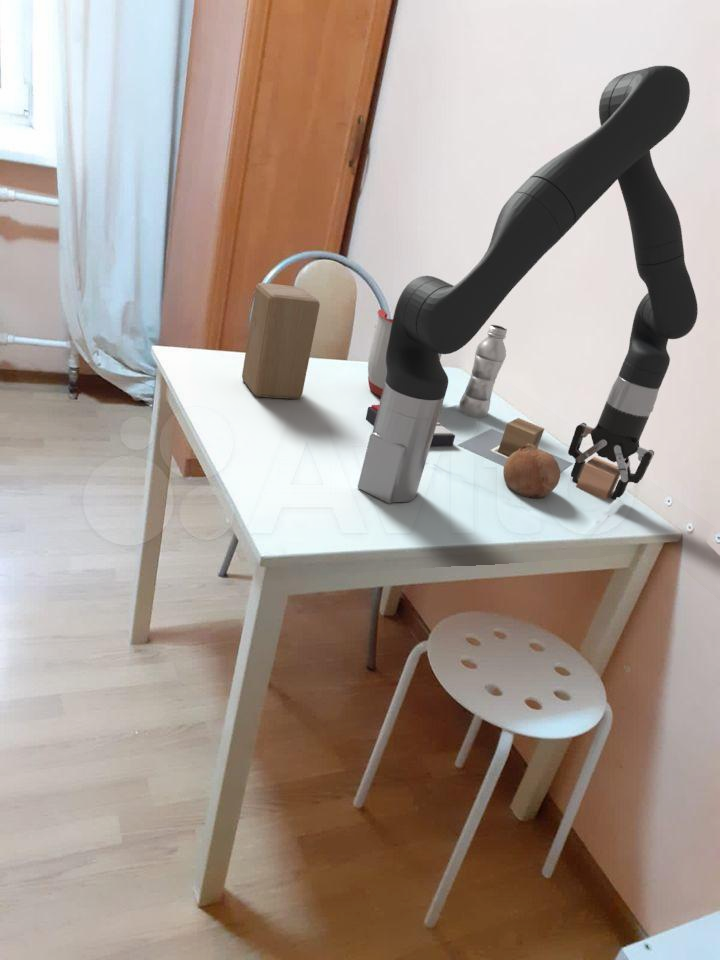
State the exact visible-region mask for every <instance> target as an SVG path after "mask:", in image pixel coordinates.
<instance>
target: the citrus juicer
mask: <svg viewBox="0 0 720 960" xmlns="http://www.w3.org/2000/svg"><path fill="white" fill-rule="evenodd" d="M387 317H388V312H386V311H385V310H384V309H383V308H380V309H378V310H377V319H376V323H375V326H374V331H373V335H372V340H371V344H370V347H369V353H368V354H369V355H368V358H367V359H368V360H367V361H368V362H367V374H368V375H367V381H368V386H369V390H370V391H371V392H372V393H374V394H375V395H376V396H379V397H380V398H381V396H382V392H383V388H384V384H385V380H386V376H387V366H386V352H387V347H388V342H389V337H390V331H391V326H392V321H393V318H387ZM441 358H442V354H439V359H440V360H441Z"/></svg>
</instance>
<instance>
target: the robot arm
mask: <svg viewBox="0 0 720 960" xmlns="http://www.w3.org/2000/svg"><path fill="white" fill-rule="evenodd" d="M690 94H691V89H690V81H689V79H688V77H687V76H686V74H685V73H684V72H683V71H682V70H680V68H677V67H675V66H671V65H653V66H649V67H646V68H645V67H644V68H642V69H637V70H633V71H629V72H626V73H623V74H620V75H617V76H616V77H613V79H612V80H611V81H609V82H608V84H607V85H606V86H605V87H604V89H603V91H602V93H601V95H600V98H599V105H598V117H599V123H600V127H598V128H597V129H596V130H595V131H594V132H592V133H591V134H590V135H588V136H586V137H585V138H583V139H582V140H580V141H579V142H577V143H575V144H574V145H573V146H571V147H569V148H567V149H566V150H565V151H562V153H559V154H558V155H557V156H554V157H553V158H552V159H550V160H549V161H547V162H546V163H545V164H544V165H543V166H541V167H540V168H539V169H536V171H535V172H534V173H532V175H530V176H529V178H527V179H526V180H525V181H524V182H523V184H522V185H520V187H519V188H518V189H517V190H516V191H514V192H513V194H512V195H511V196H510V197H509V198H508V200H506V201H505V204H503V206H502V207H501V210H500V212H499V214H498V217H497V219H496V223H495V226H494V229H493V232H492V236H491V239H490V242H489V245H488V248H487V250H486V252H485V253H484V255H483V257H482V258H481V260H479V262H478V263H477V264H476V265H475V266H474V267H473V268H472V269H471V270H470V272H468V274H467V275H466V276H464V278H462V279H461V280H460V281H458V283H457V284H455V285H453V284H451V283H449V282H446V281H445V280H443V279H440V278H438V277H435V276H432V275H421V276H417V277H416V278H414V279H412V280H411V281H410V282H409V283H408V284H407V285H406V286H405V288H404V289H403V290H402V292H401V294H400V295H399V298H398V301H397V303H396V305H395V308H394V309H395V310H394V312H393V316H392V319H393V321H392V326H391V331H390V337H389V342H388V347H387V352H386V366H387V376H386V380H385V384H384V388H383V392H382V396H381V397H380V400H379V404H378V405H379V408H378V412H377V416H376V420H375V424H374V426H373V427H372V428H373V429H372V433H370V435H369V440H368V442H367V448H366V452H365V455H364V458H363V459H364V460H363V463H362V466H361V472H360V476H359V480H358V484H357V489H359V490H361V491H363V492H366V493H367V494H369V495H371V496H373V497H375V498H377V499H379V500H380V501H383V502H385V503H387V504H389V505H390V504H392V503H407V502H411V501H413V500H414V499H416V497H417V495H418V490H419V487H420V484H421V479H422V476H423V472H424V469H425V466H426V463H427V458H428V455H429V452H430V449H431V447H430V445H431V442H432V439H433V435H434V432H435V428H436V425H437V422H438V421H439V417H440V413H441V410H442V407H443V404H444V400H445V396H446V394H447V390H448V387H449V386H448V385H449V377H448V375H447V373H446V371H445V370H444V367H443V365H442V362H441V358H440V359H439V354H441V355H449V354H453V353H455V352H457V351H459V350H460V349H462V348H464V347H465V346H466V345H467V344H469V343H470V341H471V340H472V339H473V338H474V337H475V336H476V335H477V334H478V332H479V331H481V329H482V327H483V326H484V325H485V324H486V322H488V320H490V317H491V316H492V315H493V314H494V313H495V311H496V310H497V309H498V307H500V305H501V304H502V302H504V300H505V299H506V297H507V296H508V295H509V293H510V292H512V290H513V289H514V288H515V287H516V286H517V284H519V282H520V281H521V280H522V279H523V278H524V277H525V276H526V275H527V274H528V273H529V272H530V270H532V268H534V266H535V265H536V264H537V263H538V262H539V261H540V260H541V259H542V258H543V257H544V255H546V254H547V253H548V251H549V250H551V249H552V248H553V247H554V246H555V245H556V244H557V243H558V242H559V241H560V240H561V239H562V238H564V236H565V235H566V234H567V233H568V232H569V231H570V230H571V229H572V228H573V227H574V225H576V223H577V222H579V220H580V219H581V218H582V217H583V216H584V214H585V213H586V212H587V211H588V210H590V209H591V207H592V206H593V205H594V204H595V203H596V202H598V200H599V199H600V198H601V197H603V195H604V194H605V193H606V192H607V191H608V190H609V189H610V187H612V186H613V185H614V184H615V182H616V181H618V185H619V188H620V191H621V195H622V197H623V201H624V204H625V208H626V212H627V216H628V221H629V224H630V225H629V227H630V230H631V231H630V232H631V236H632V237H631V238H632V244H633V245H632V246H633V252H634V257H635V258H634V259H635V265H636V269H637V273H638V276H639V277H640V279H641V280H642V281H643V283H644V284H645V286H646V288H647V293H646V294H645V295H644V296H643V298H642V299H641V301H640V302H639V304H638V305H637V308H636V309H635V314H634V318H633V323H632V326H631V331H630V337H629V344H628V351H627V354H626V355H625V358H624V360H623V362H622V364H621V368H620V371H619V373H618V375H617V378H616V379H615V381H614V382H613V385H612V386H611V389H610V392H609V394H608V396H607V399H606V401H605V404H604V407H603V409H602V412H601V414H600V417H599V419H598V421H597V424H596V425H595V427H590V426H588V425H587V423H586V422H582V423H579V424H578V425H577V426H576V428H575V430H574V434H573V436H572V439H571V443H570V445H569V448H568V451H567V454H568V455H569V456H571V457H573V459H574V461H575V462H574V463H573V467H572V469H571V472H570V477H572V482H575V483H577V482H578V480H579V478H580V475H581V473H582V470H583V468H584V465H585V463H587V462H586V460H588V458H589V457H592V455H594V454H597V456H598V457H601V458H604V459H605V458H606V459H607V460H608V461H611V462H612V463H616V464H617V465H616V466H617V467H618V469H619V471H620V476H619V477H620V478H619V479H618V481H617V484H616V486H615V488H614V491H613V492H612V495H611V499H613V500H616V499H620V498H621V496H623V495H624V493H625V491H626V488H627V487H628V484H629V483H633V484H638V483H639V482H640V481H641V480H642V479H643V478H644V477H645V476H644V475H645V474H646V471H647V470H648V469H649V468H648V467H649V465H650V464H651V461H652V459H653V458H654V455H655V451H654V450H653V449H646V448H644V447H641V446H640V439H641V437H642V435H643V432H644V430H645V427H646V424H647V422H648V420H649V419H650V415H651V413H652V412H653V410H654V407H655V404H656V401H657V398H658V394H659V391H660V387H661V386H662V384H663V381H664V378H665V377H666V374H667V372H668V369H669V366H670V362H671V357H670V355H669V353H668V350H667V346H668V342H669V340H679V339H681V338H684V337H685V336H687V335H688V334H689V333H690V332H691V331H692V330H693V328H694V327H695V324H696V321H697V319H698V308H699V307H698V300H697V297H696V296H697V295H696V292H695V290H694V285H693V283H692V280H691V276H690V274H689V271H688V269H687V266H686V261H685V250H684V240H683V232H682V231H683V230H682V225H681V220H680V219H679V214H678V212H677V209H676V206H675V205H674V203H673V201H672V199H671V197H670V196H669V194H668V192H667V189H665V187H664V185H663V184H662V181H661V180H660V178H659V176H658V174H657V171H656V168H655V165H654V164H653V159H652V156H651V150H652V149H653V148H654V147H655V146H657V145H658V144H660V142H662V141H663V140H664V139H665V138H666V137H668V135H670V134H671V133H672V132H673V131H674V130H675V129H676V127H677V126H678V125H679V123H680V122H681V120H682V119H683V117H684V115H685V114H686V111H687V108H688V106H689V102H690ZM588 435H590V436H591V437H590V438H591V441H592V446H590V447H589V448H588V449H586V450H585V451H583V452H582V451H581V450H580V447H581V445H582V442H583V440H584V438H587V437H588ZM636 453H637V455H638V456H637V460H638V461H639V465H638V467H637V469H636V471H635V472H634V473H632V471H631V461H630V456H632V455H635V454H636Z"/></svg>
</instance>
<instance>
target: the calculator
mask: <svg viewBox="0 0 720 960" xmlns="http://www.w3.org/2000/svg"><path fill="white" fill-rule="evenodd" d="M378 408H379V404H372V405H371V406H368V407H367V411H366V416H365V420H366V421H367V422H368V423H369V424H371V426H372V427H374V424H375V420H376V416H377V412H378ZM455 437H456V435H455V434H454V433H453V432H452V431H451V430H449V429H447V427H444V426H443V425H441V423H440V422H438V421H437V425H436V428H435V432H434V435H433V439H432V442H431V445H430V448H431V447H433V448H434V447H437V448H438V447H440V448H441V447H453V445H454V443H455V442H454V441H455Z"/></svg>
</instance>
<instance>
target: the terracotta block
mask: <svg viewBox="0 0 720 960" xmlns="http://www.w3.org/2000/svg"><path fill="white" fill-rule="evenodd" d="M620 477H621V476H620V471H619V469H618V465H614V464H612V463H611V462H608V461H605V460H603V459H600V458H598V457H596V456H593V457H592V458H590V459H589V460H588V461H587V462H586V463H585V465H584V468H583V470H582V473H581V475H580V478H579V480H578V481H577V482H576V485H575V487H576V488H578V489H580V490H582V491H585V492H586V493H589V494H591V495H593V496H596V497H597V498H600V499H602V500H605V501H606V499H607V498H608V497H610V496H611V494H613V493H614V490H615V488H616V486H617V483H618V481H619V480H620Z"/></svg>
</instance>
